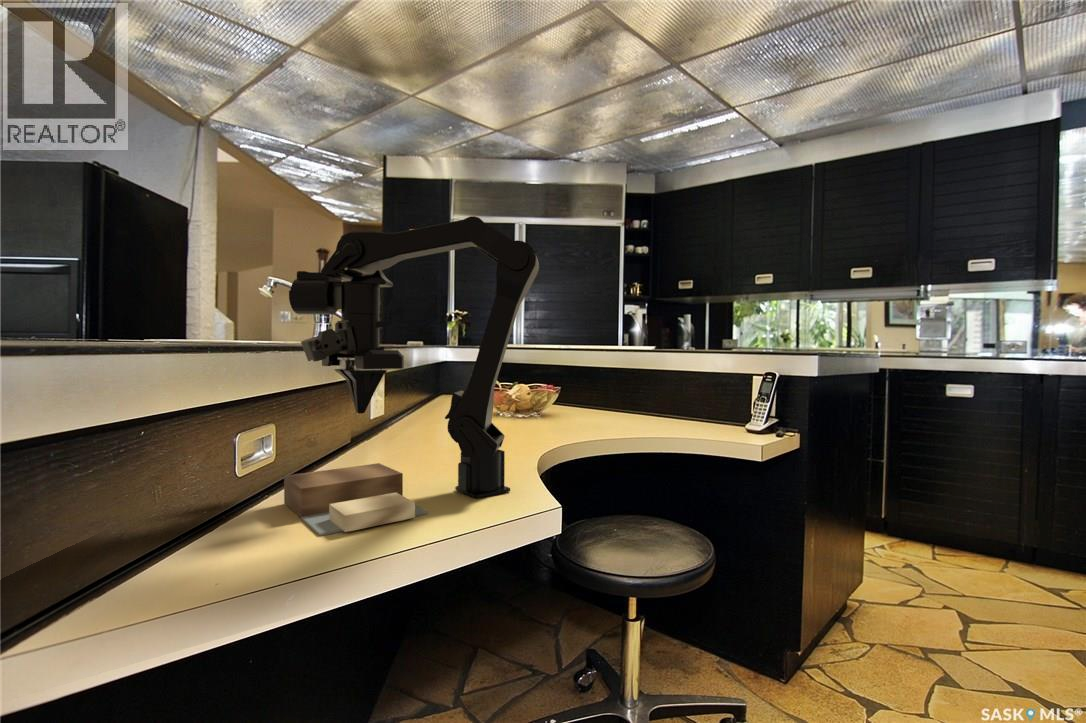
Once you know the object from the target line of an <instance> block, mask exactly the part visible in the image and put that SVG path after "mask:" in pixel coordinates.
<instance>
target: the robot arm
mask: <svg viewBox="0 0 1086 723" xmlns="http://www.w3.org/2000/svg"><path fill="white" fill-rule="evenodd" d="M471 247H475V248H476V249H478V250H479V251H481V252H482V253H484V254H485V255H486V256H487V257H489V259H491V260H492V261H494V262H495V263H497V264H496V265H497V266H496V272H495V292H494V293H495V294H494V300H493V304H492V307H491V310H490V313H489V316H488V319H487V323H486V327H485V329H484V333H483V336H482V340H481V342H480V346H479V350H478V353H477V356H476V360H475V361H474V362H475V363H474V366H473V369H472V373H471V376H470V380H469V382H468V384H467V386H466V388H465V389H464V390H459V391H456V392H453V393H452V395H451V401H450V408H449V410H448V412H447V414H446V415H445V417H444V419H445V420H448V421H447V427H446V428H447V433H449V436H450V437H451V439H452V440H453V441H454V442H455V443H457V445H458V447H459V449H460V462H458V463H457V486H455V487H454V488H455V491H458V492H460V493H463V494H465V495H468V496H469V497H472V498H475V499H477V498H484V497H488V496H489V497H490V496H494V495H498V494H503V493H509V492H511V487H508V486H506V485H505V467H506V466H505V463H506V462H505V460H506V459H505V456H506V454H505V453H506V452H505V450H502V449H500V448H501V447H502V444H503V442H504V440H505V434H504V433H503V432H502V431H501V430H500V429H499V428H498V427H497V426H496V425H495V424H494V423H493V422H492V421H493V413H494V402H495V388H496V385H497V381H498V377H499V373H500V370H501V367H502V364H503V361H504V357H505V355H506V351H507V347H508V344H509V342H510V341H509V340H510V338H511V335H512V331H513V328H514V325H515V321H516V318H517V315H518V312H519V308H520V305H521V304H522V303H523V301H524V299H525V297H526V296H527V294H528V292H529V290H530V289H531V287H532V285H533V283H534V280H535V279H536V277H537V275H538V273H539V270H540V264H539V260H538V256H537V254H536V251H535V250H534V248H533V247H532V246H531V244H529V243H527V242H525V241H524V240H518V239H517V240H512V239H511V238H509V237H508V236H506V235H505V234H504V233H502V232H500V231H498V230H496V229H495V228H493V227H492V226H490V225H489V224H487V223H485V221H483V220H482V219H481V217H478V216H476V215H475V216H472V215H471V216H468V217H466V218H464V219H458V220H452V221H449V222H444V223H443V222H442V223H438V224H433V225H429V226H423V227H417V228H412V229H407V230H401V231H397V232H381V231H373V230H372V231H371V230H370V231H368V230H367V231H365V230H362V231H348V232H346V233H344V234H343V235H341V236H340V238H339V240H338V242H337V244H336V248H335V251H334V252H333V253H332V255H331V256H330V257H329V259H328V261H327V262H326V263H325V264H324V266H322V268H321V270H320V271H319V272H314V271H313V272H309V271H306V270H305V271H304V270H297V271H296V278H295V279H294V280H293V282H292V284H291V285H290V290H288V300H289V303H290V307H291V309H292V311H293V312H294V313H295V314H296V315H323V316H324V315H325V316H326V315H335V314H337V313H338V311H339V310H341V311H340V312H341V317H340V318H341V320H337V321H336V322H335V324H334V330H333V328H327V329H326V330H322V331H318V333H317V335H316V336H313V337H310V338H307V339H304V340H301V341H300V343H301V344H300V345H301V346H302V349H303V351H304V353H305V354H304V355H305V357H306V359H307V361H308V362H311V361H312V362H320V361H321V366H322V367H331V366H335V367H337V366H339V368H334V371H335V372H336V373H337V374H339V375H340V376H341V377H343V378H344V379H345V381H346V384H347V386H348V387H347V388H348V389H349V392H350V396H351V399H352V402H353V406H354V410H355V413H357V414H365V413H366V411H367V408H368V406H369V404H370V402H371V400H372V399H373V396H374V394H375V392H376V390H377V388H378V386H379V385H380V383H381V381H382V380H383V377H384V375H385V374H387V372H388V370H394V369H395V370H397V369H398V370H400V369H404V368H405V367H404V366H405V365H404V364H405V362H404V361H405V360H404V358H405V356H404V355H403V354H402V353H401V352H400V351H399V349H385V346H384V347H380V329H385V321H382V320H381V321H380V314H381V313H380V310H381V309H380V308H381V306H380V292H381V291H380V290H381V289H380V288H392V287H393V286H394V283H393V282H392V281H391V280H389V279H388V278H387V276H385V273H384V272H383V270H387V269H389V268H391V267H392V266H394V265H396V264H397V263H399V262H402V261H405V260H408V259H413V258H418V257H419V258H420V257H425V256H430V255H434V254H439V253H440V254H441V253H444V252H451V251H455V250H460V249H462V250H463V249H465V248H471Z"/></svg>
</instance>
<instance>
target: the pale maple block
mask: <svg viewBox="0 0 1086 723" xmlns="http://www.w3.org/2000/svg"><path fill="white" fill-rule="evenodd" d="M415 505H416V502H415V501H414V500H411V499H409V498H407V497H406V496H404V495H403V496H402V495H400V494H398V493H390V494H385V495H379V496H373V497H367V498H362V499H356V500H350V501H344V502H339V503H333V504H329V520H330V521H332V522H333V523H334V524H335V525H337V526H338V527H339V528H341V529H342V530H343V531H342V532H344V533H349V532H353V531H357V530H362V529H367V528H371V527H376V526H381V525H386V524H391V523H394V522H400V521H405V520H408V519H409V520H410V519H414V518H416V516H415Z"/></svg>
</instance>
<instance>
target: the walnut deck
mask: <svg viewBox="0 0 1086 723" xmlns="http://www.w3.org/2000/svg"><path fill="white" fill-rule="evenodd" d="M403 476H404V475H403V472H400V471H398V470H396V469H394V468H391V467H389V466H387V465H384V464H382V463H378V462H377V463H370V464H364V465H355V466H347V467H340V468H334V469H326V470H320V471H319V470H318V471H311V472H305V473H304V472H303V473H302V472H301V473H294V474H287V475H284V476H283V485H284V486H283V497H284V498H283V499H284V500H283V502H284V503H283V504H284V505H285V506H286V507H288V509H290V510H291V512H293V513H294V514H295V515H296V516H297V517H298V518H299V519H301V517H304V516H309V515H315V514H320V513H326V512H329V504H333V503H339V502H344V501H350V500H356V499H362V498H367V497H373V496H379V495H385V494H390V493H398V494H400V495H402V496H404V495H403V492H404V490H403V488H404V487H403V483H404V482H403Z"/></svg>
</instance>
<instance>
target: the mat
mask: <svg viewBox="0 0 1086 723" xmlns="http://www.w3.org/2000/svg"><path fill="white" fill-rule="evenodd" d="M427 514H428V510H426V509H424V508H422V507H420V506H418V505H417V504H415V517H417V516H422V515H427ZM300 519H301V521H303V522H304V523H305V524H306V525H307V526H308V527H310V528H311V529H312V530H313V531H314V532H315V533H316V534H317V535H318V536H320V537H321V536H327V535H332V534H337V533H342V532H344V531H343V530H342V529H341V528H339V527H338V526H337V525H335V524H334V523H333V522H332V521H330V520H329V512H326V513H320V514H315V515H309V516H304V517H301V518H300Z"/></svg>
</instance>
